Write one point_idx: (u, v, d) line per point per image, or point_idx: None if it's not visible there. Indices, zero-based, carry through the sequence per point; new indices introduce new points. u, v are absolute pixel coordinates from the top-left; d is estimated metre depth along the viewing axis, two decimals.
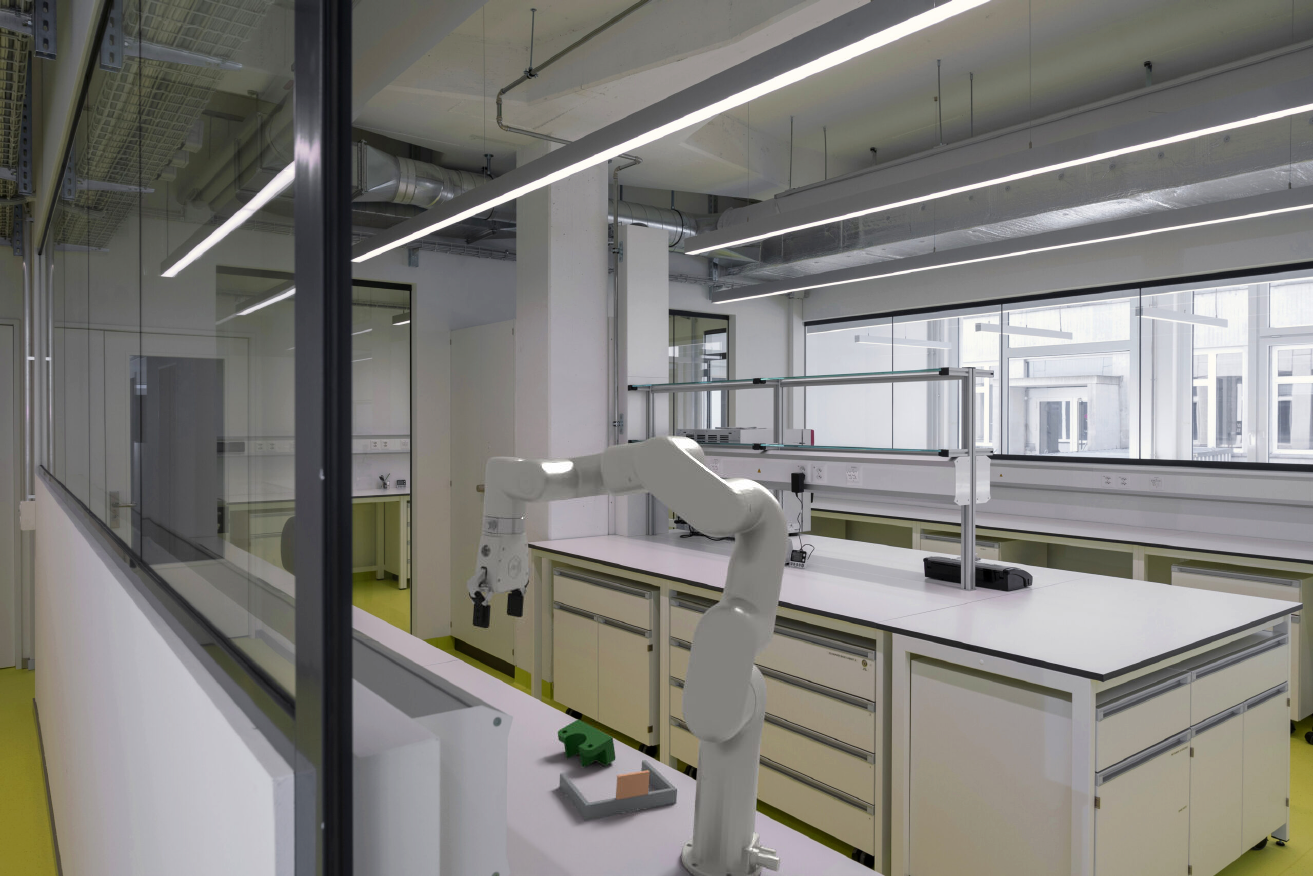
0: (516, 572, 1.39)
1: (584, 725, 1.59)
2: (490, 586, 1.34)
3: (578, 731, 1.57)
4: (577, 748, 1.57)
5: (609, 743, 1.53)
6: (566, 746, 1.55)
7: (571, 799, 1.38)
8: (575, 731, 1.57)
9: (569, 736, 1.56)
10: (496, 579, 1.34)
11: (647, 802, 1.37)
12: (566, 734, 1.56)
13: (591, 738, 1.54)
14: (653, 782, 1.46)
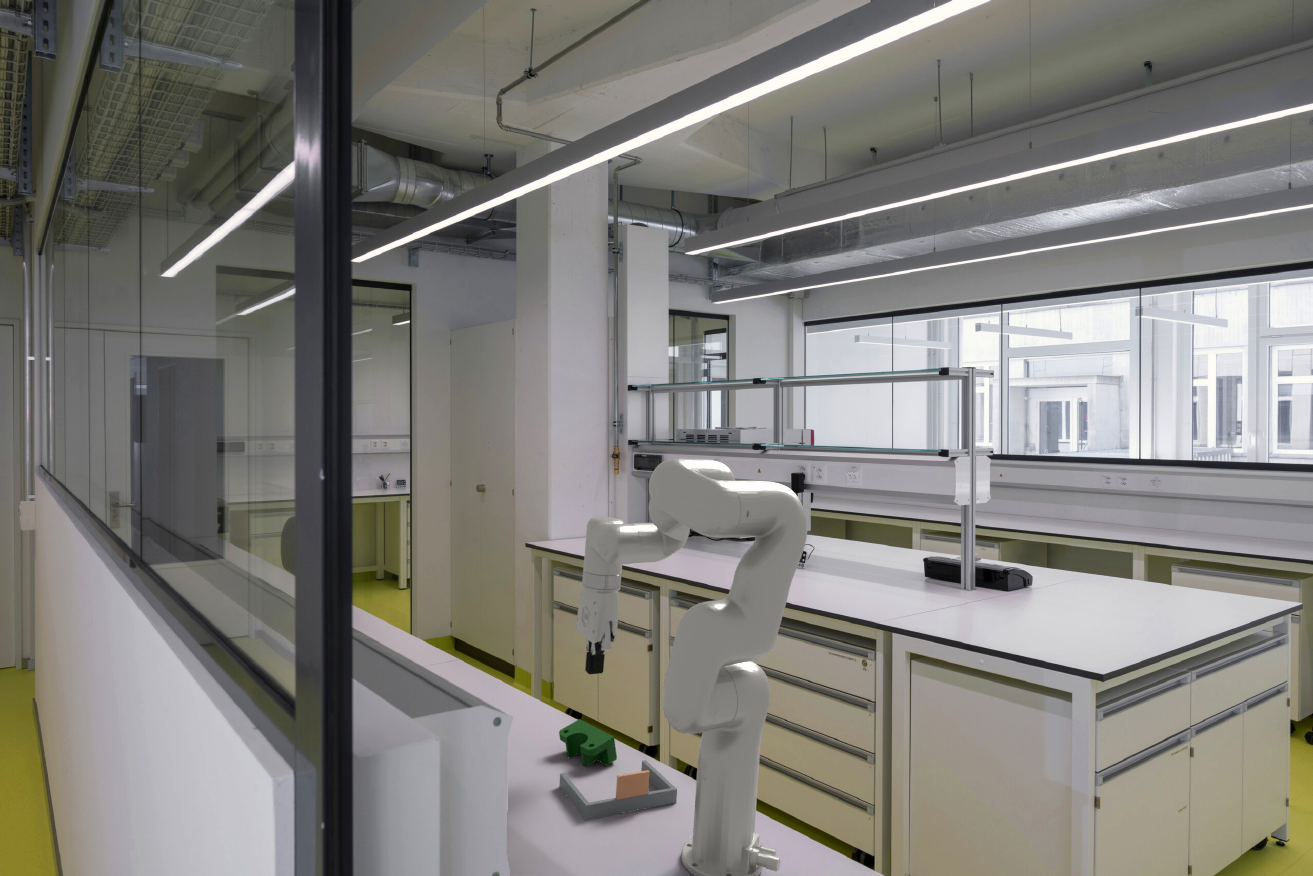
0: (586, 622, 1.51)
1: (585, 725, 1.59)
2: None
3: (580, 730, 1.57)
4: (578, 747, 1.57)
5: (610, 742, 1.53)
6: (567, 746, 1.56)
7: (571, 799, 1.38)
8: (577, 730, 1.57)
9: (570, 736, 1.56)
10: (577, 617, 1.56)
11: (647, 802, 1.37)
12: (567, 734, 1.56)
13: (592, 738, 1.54)
14: (653, 782, 1.46)
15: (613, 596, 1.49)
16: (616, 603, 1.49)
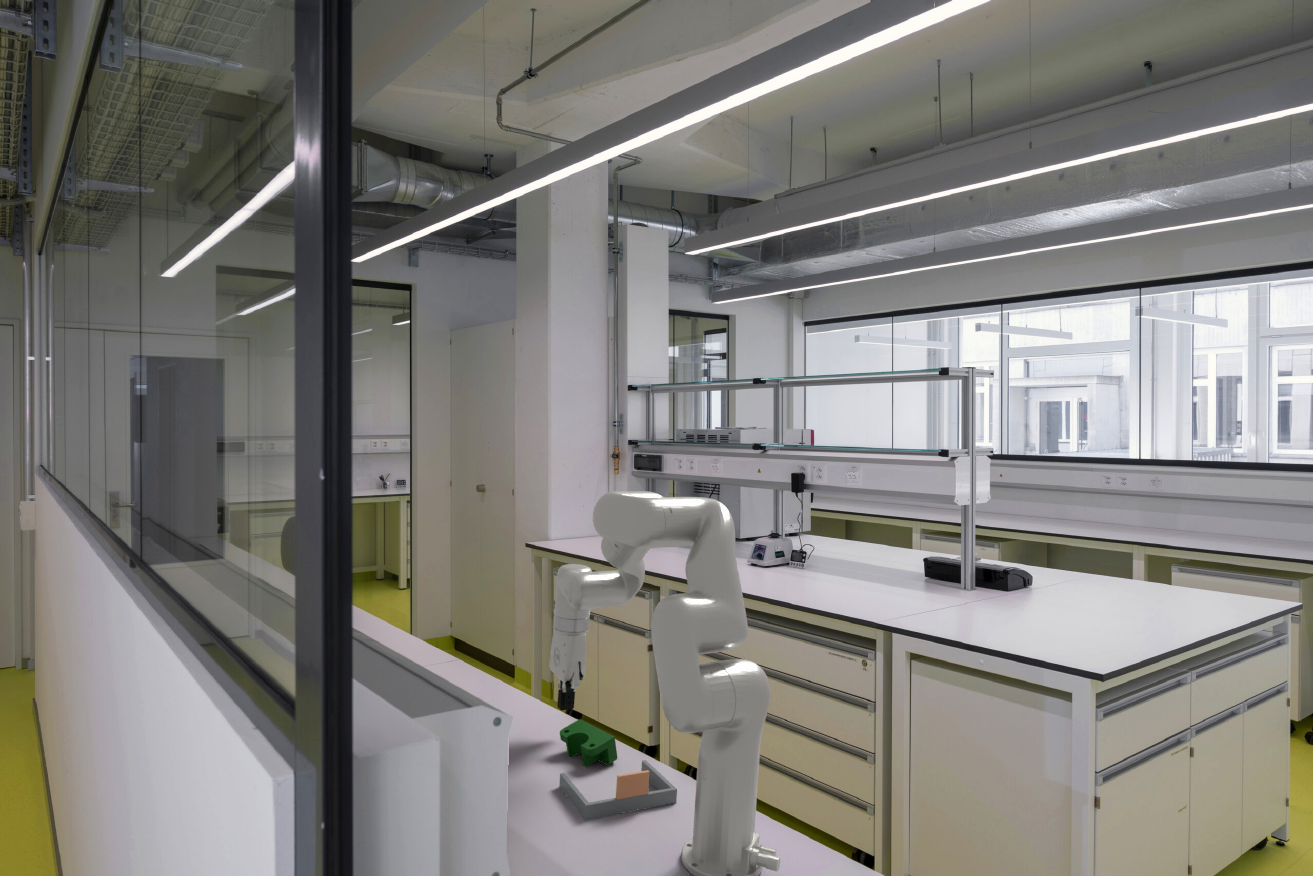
0: (557, 662, 1.64)
1: (586, 724, 1.59)
2: None
3: (580, 730, 1.57)
4: (579, 747, 1.57)
5: (611, 742, 1.53)
6: (568, 745, 1.56)
7: (571, 799, 1.38)
8: (577, 730, 1.57)
9: (571, 735, 1.56)
10: (550, 657, 1.69)
11: (647, 802, 1.37)
12: (568, 733, 1.56)
13: (593, 738, 1.54)
14: (653, 782, 1.46)
15: (581, 638, 1.62)
16: (584, 645, 1.62)
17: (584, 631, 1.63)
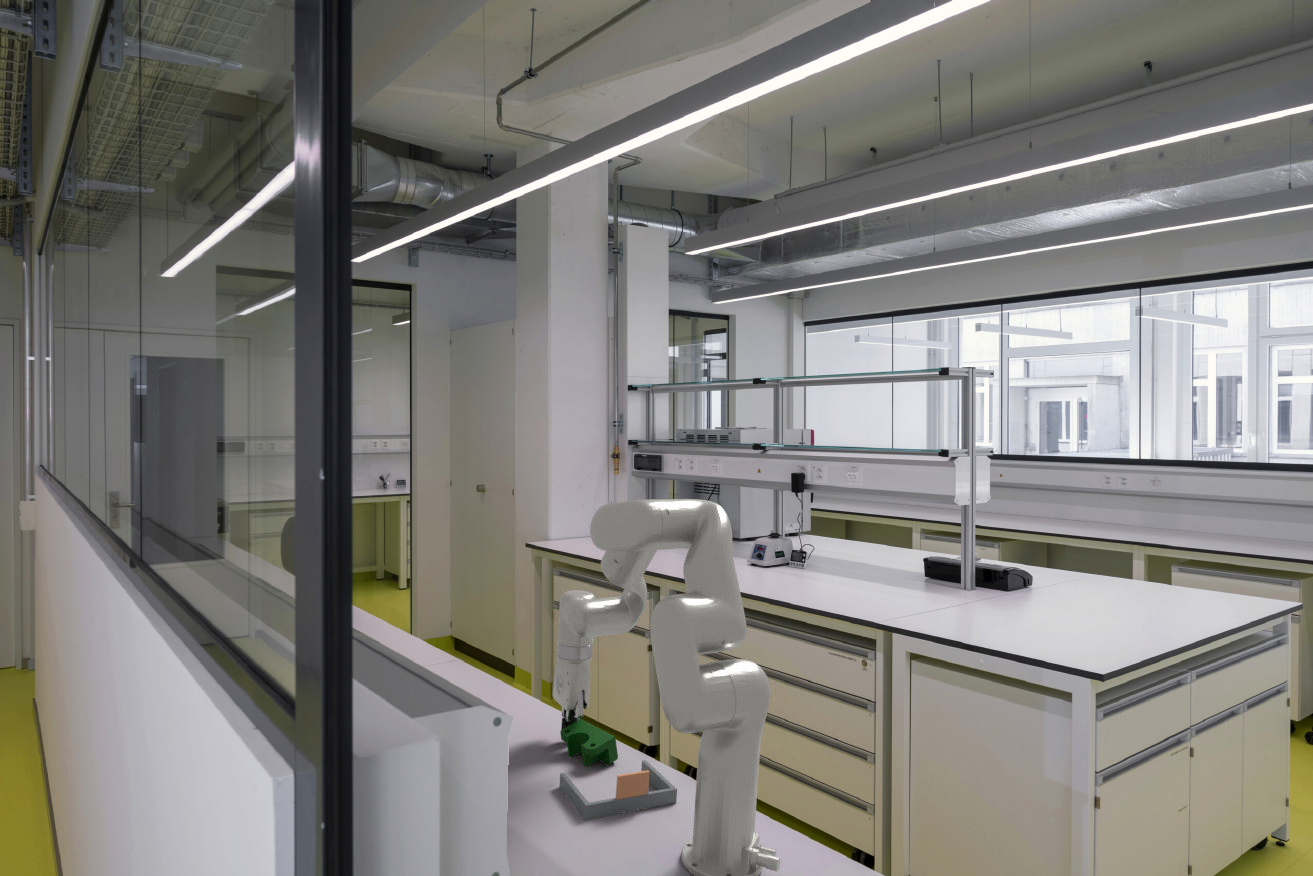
0: (561, 691, 1.62)
1: (587, 724, 1.59)
2: None
3: (581, 730, 1.57)
4: (580, 747, 1.57)
5: (612, 742, 1.53)
6: (569, 745, 1.56)
7: (571, 799, 1.38)
8: (578, 730, 1.57)
9: (572, 735, 1.56)
10: (553, 685, 1.66)
11: (647, 802, 1.37)
12: (569, 733, 1.57)
13: (593, 738, 1.54)
14: (653, 782, 1.46)
15: (585, 666, 1.60)
16: (588, 673, 1.60)
17: (588, 659, 1.61)
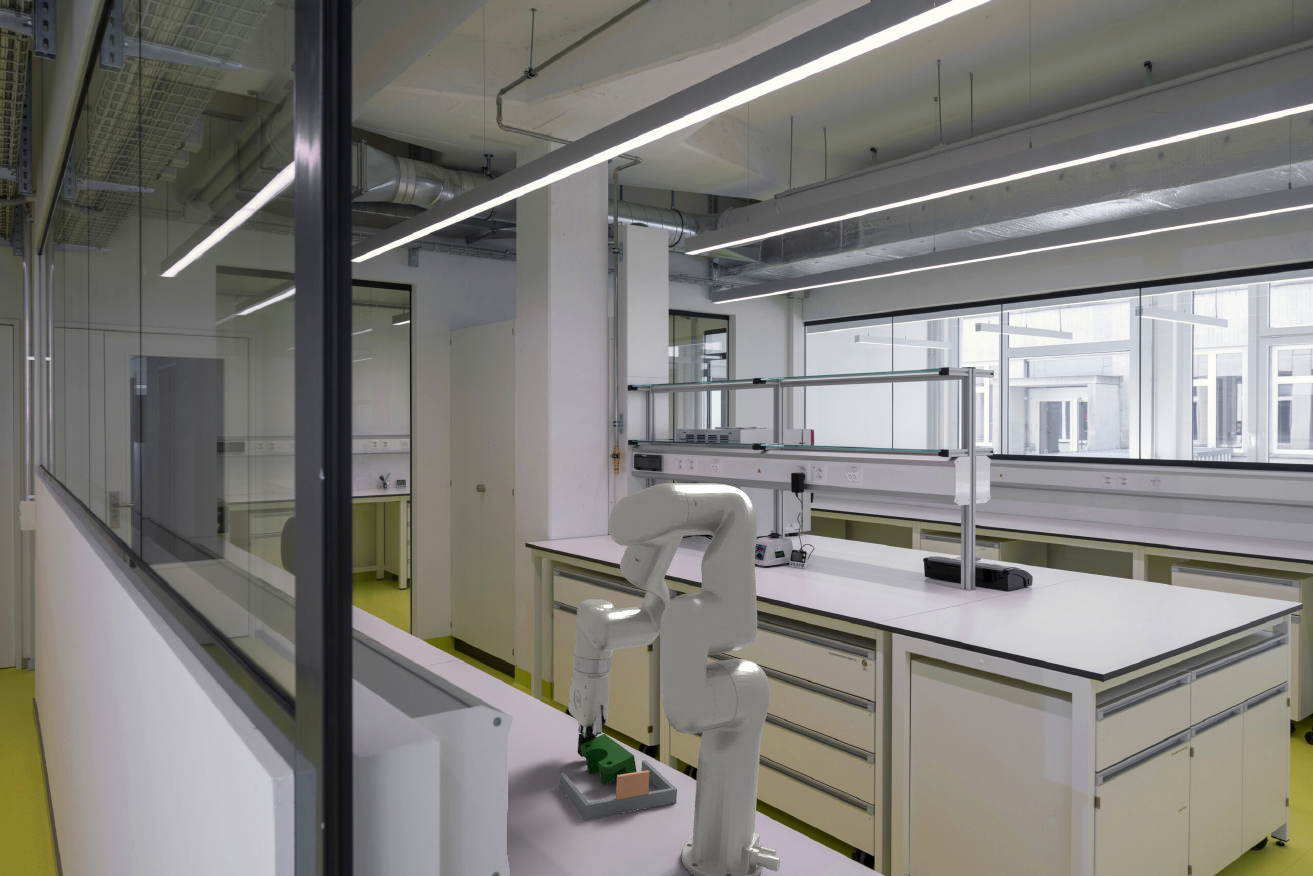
0: (578, 705, 1.53)
1: (608, 740, 1.52)
2: None
3: (601, 746, 1.50)
4: None
5: (630, 761, 1.45)
6: (588, 761, 1.49)
7: (571, 799, 1.38)
8: (598, 746, 1.50)
9: (591, 751, 1.49)
10: (569, 698, 1.58)
11: (647, 802, 1.37)
12: (588, 748, 1.50)
13: (612, 755, 1.46)
14: (653, 782, 1.46)
15: (603, 680, 1.51)
16: (607, 687, 1.51)
17: (606, 672, 1.52)
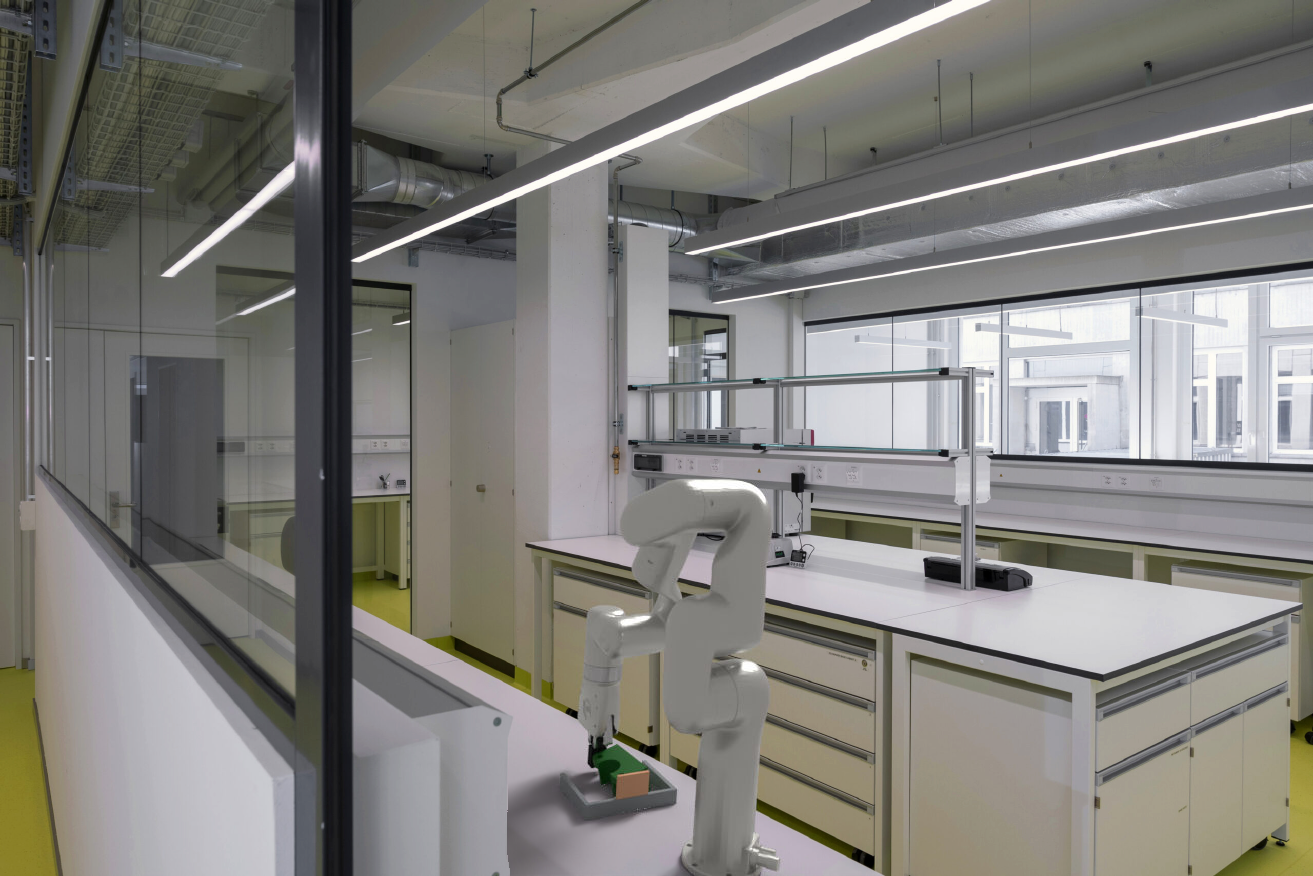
0: (588, 715, 1.48)
1: (621, 751, 1.47)
2: None
3: (614, 757, 1.46)
4: None
5: None
6: (600, 772, 1.45)
7: (571, 799, 1.38)
8: (611, 756, 1.46)
9: (603, 762, 1.45)
10: None
11: (647, 802, 1.37)
12: (601, 759, 1.45)
13: (624, 766, 1.42)
14: (653, 782, 1.46)
15: (614, 689, 1.46)
16: (618, 696, 1.47)
17: (617, 680, 1.48)
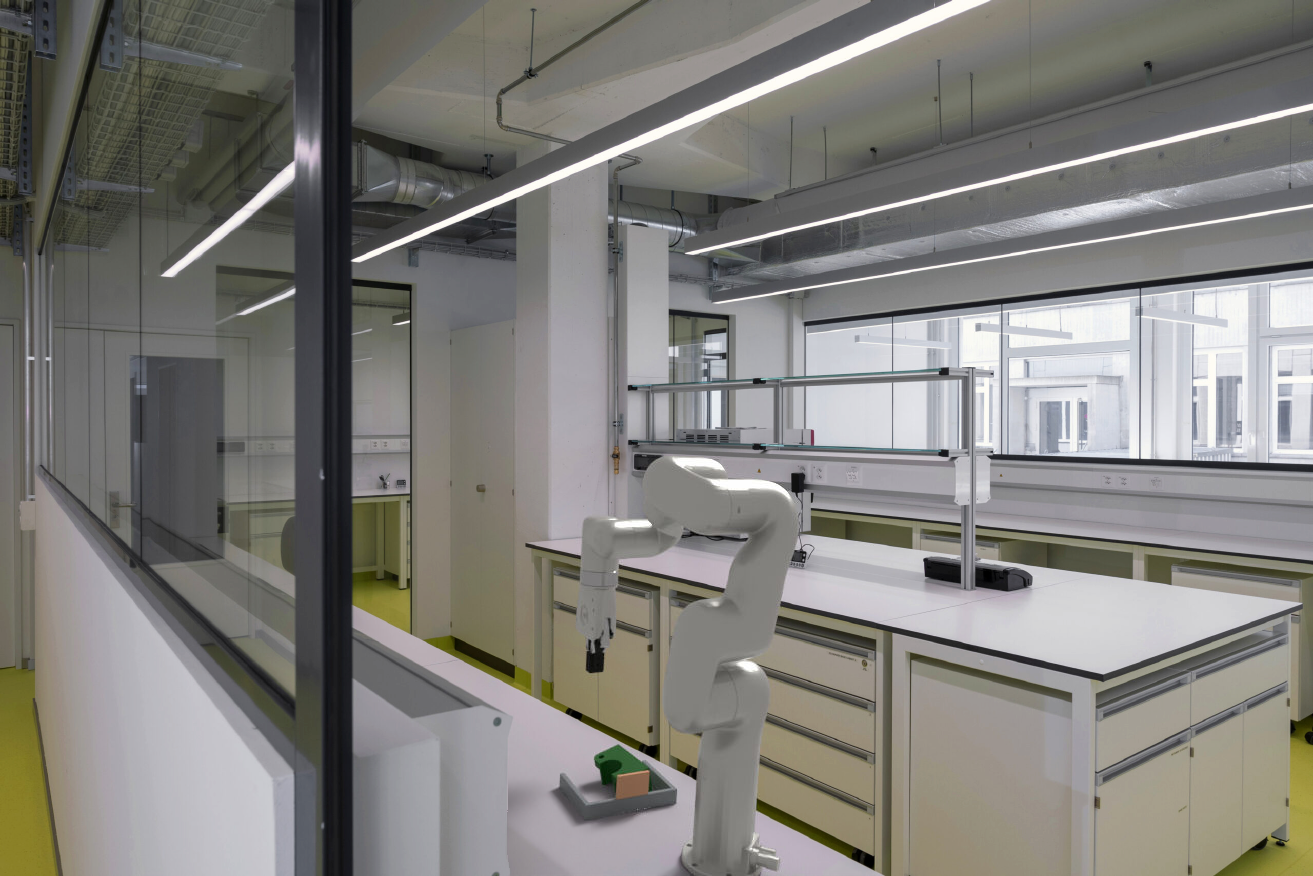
0: (585, 620, 1.52)
1: (623, 751, 1.47)
2: None
3: (616, 757, 1.46)
4: None
5: None
6: (601, 773, 1.45)
7: (571, 799, 1.38)
8: (613, 757, 1.46)
9: (605, 762, 1.45)
10: (576, 617, 1.57)
11: (647, 802, 1.37)
12: (602, 760, 1.45)
13: (626, 767, 1.42)
14: (653, 782, 1.46)
15: (610, 593, 1.50)
16: (614, 600, 1.51)
17: (613, 585, 1.52)
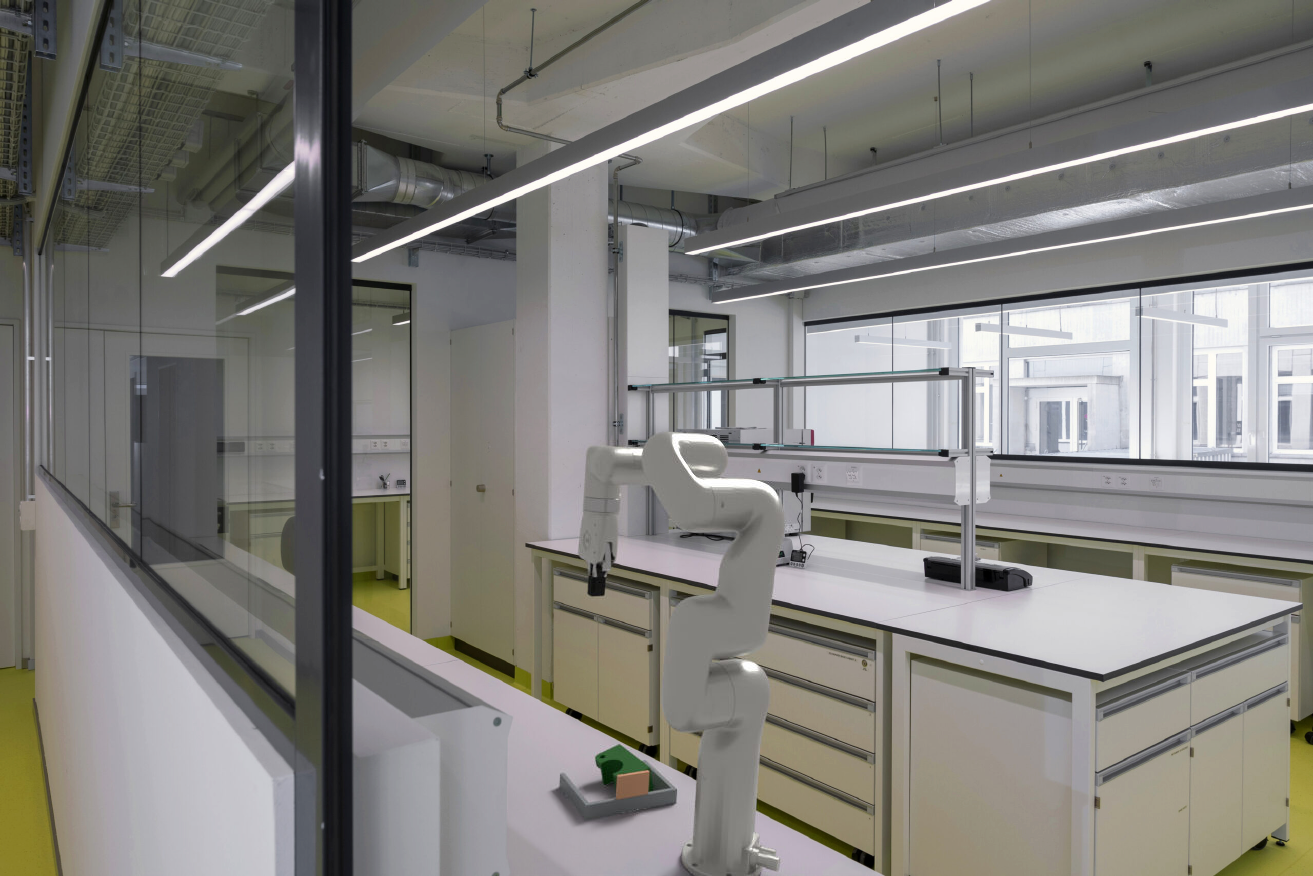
0: (587, 545, 1.57)
1: (624, 751, 1.47)
2: None
3: (617, 757, 1.46)
4: None
5: None
6: (603, 772, 1.45)
7: (571, 799, 1.38)
8: (614, 756, 1.46)
9: (606, 762, 1.45)
10: (579, 544, 1.62)
11: (647, 802, 1.37)
12: (603, 759, 1.45)
13: (627, 767, 1.42)
14: (653, 782, 1.46)
15: (612, 518, 1.55)
16: (615, 525, 1.56)
17: (615, 512, 1.57)
